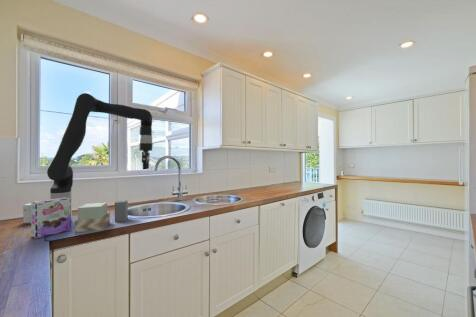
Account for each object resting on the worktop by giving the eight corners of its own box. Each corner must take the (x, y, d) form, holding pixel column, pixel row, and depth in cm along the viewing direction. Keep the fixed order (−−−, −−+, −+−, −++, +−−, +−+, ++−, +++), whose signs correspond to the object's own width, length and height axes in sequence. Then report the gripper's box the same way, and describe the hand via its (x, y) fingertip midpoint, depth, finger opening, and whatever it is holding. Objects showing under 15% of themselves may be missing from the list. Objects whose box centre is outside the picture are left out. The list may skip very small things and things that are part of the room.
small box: (45, 220, 128) (45, 202, 128) (35, 223, 123) (35, 204, 123) (33, 220, 129) (32, 202, 129) (22, 223, 124) (22, 204, 124)
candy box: (35, 239, 99) (34, 202, 99) (30, 236, 102) (30, 201, 102) (71, 230, 111) (70, 197, 110) (66, 228, 114) (65, 196, 114)
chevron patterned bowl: (74, 232, 108) (74, 220, 108) (85, 225, 119) (85, 214, 119) (102, 230, 111) (102, 218, 111) (109, 223, 122) (109, 212, 122)
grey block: (114, 222, 124) (114, 202, 124) (117, 219, 130) (117, 200, 130) (125, 221, 126) (125, 202, 126) (127, 218, 131) (127, 200, 131)
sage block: (78, 220, 109) (77, 207, 109) (86, 214, 119) (86, 203, 119) (100, 218, 112) (100, 206, 112) (106, 213, 121) (106, 202, 121)
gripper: (141, 143, 142) (141, 168, 142) (137, 141, 128) (137, 169, 128) (153, 143, 144) (153, 168, 144) (150, 142, 130) (150, 169, 130)
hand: (145, 169), depth 136 cm, fingers open, 8 cm apart
